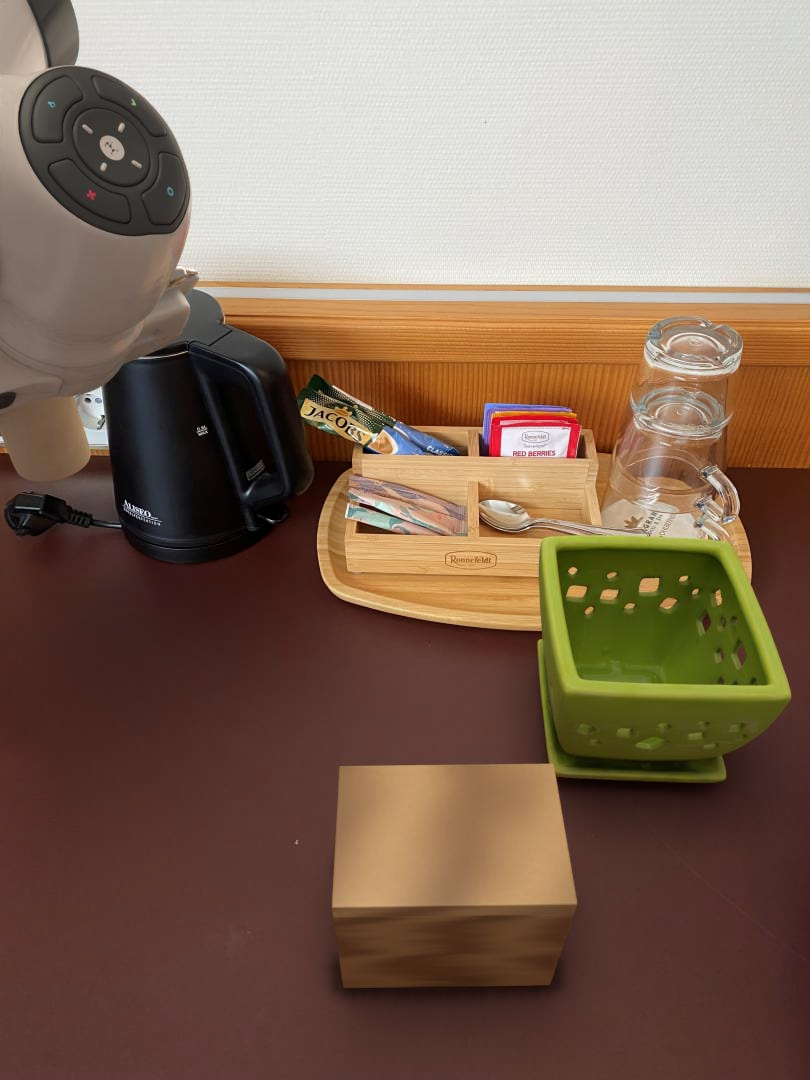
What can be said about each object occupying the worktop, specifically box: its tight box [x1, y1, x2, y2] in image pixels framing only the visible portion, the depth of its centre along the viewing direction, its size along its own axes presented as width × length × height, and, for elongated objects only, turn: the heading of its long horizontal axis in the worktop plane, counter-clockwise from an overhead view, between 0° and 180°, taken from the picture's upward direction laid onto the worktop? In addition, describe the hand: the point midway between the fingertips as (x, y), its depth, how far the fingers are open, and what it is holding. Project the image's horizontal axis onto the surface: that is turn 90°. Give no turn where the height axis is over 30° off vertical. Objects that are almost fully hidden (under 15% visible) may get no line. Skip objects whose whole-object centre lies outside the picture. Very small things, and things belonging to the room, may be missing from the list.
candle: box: [0, 396, 92, 483], centre depth 57 cm, size 6×6×10 cm
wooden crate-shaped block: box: [331, 763, 579, 989], centre depth 45 cm, size 12×8×11 cm, turn 91°
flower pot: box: [536, 534, 792, 784], centre depth 55 cm, size 14×14×13 cm
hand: (27, 396), depth 57 cm, fingers closed on candle, 5 cm apart
